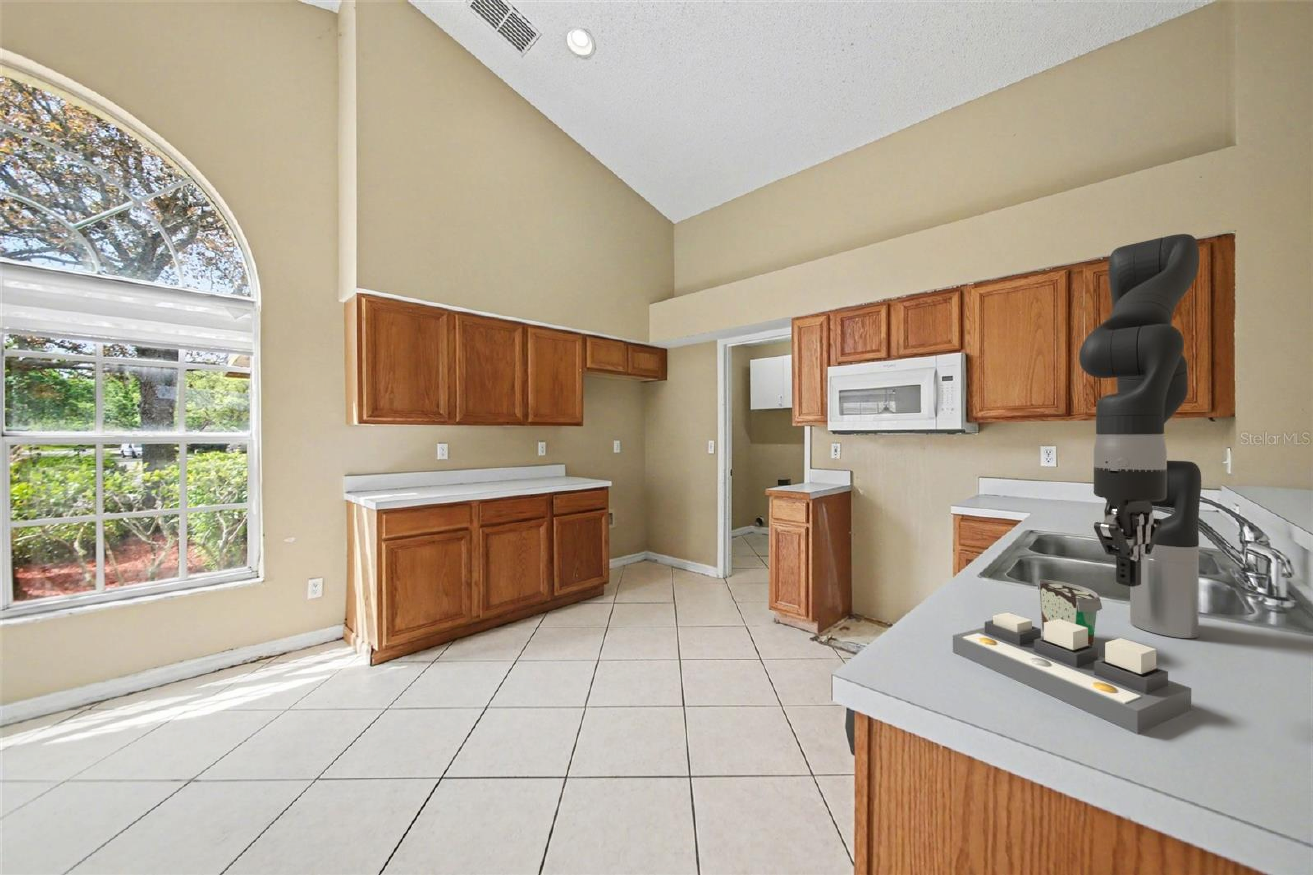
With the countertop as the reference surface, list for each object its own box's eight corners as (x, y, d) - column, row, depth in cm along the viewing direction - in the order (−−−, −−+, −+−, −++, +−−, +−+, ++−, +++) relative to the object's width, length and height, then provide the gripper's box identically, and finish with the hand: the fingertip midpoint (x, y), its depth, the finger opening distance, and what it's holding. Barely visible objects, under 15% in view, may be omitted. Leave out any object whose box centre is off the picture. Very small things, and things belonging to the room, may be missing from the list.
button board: (1003, 638, 90) (1003, 612, 90) (1191, 709, 67) (1191, 674, 67) (952, 652, 85) (952, 624, 85) (1137, 734, 62) (1137, 695, 61)
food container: (1120, 660, 81) (1121, 602, 81) (1079, 657, 82) (1079, 600, 82) (1073, 631, 93) (1073, 580, 93) (1037, 628, 94) (1037, 578, 94)
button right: (1120, 656, 72) (1120, 638, 72) (1156, 668, 68) (1156, 649, 68) (1105, 661, 70) (1105, 642, 70) (1141, 674, 66) (1141, 654, 66)
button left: (1007, 627, 86) (1007, 612, 86) (1031, 636, 83) (1031, 620, 83) (993, 631, 85) (993, 615, 85) (1017, 640, 81) (1017, 624, 81)
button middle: (1058, 635, 79) (1058, 618, 79) (1087, 645, 75) (1088, 628, 75) (1043, 639, 78) (1043, 622, 78) (1072, 650, 74) (1073, 632, 74)
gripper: (1121, 463, 75) (1121, 572, 75) (1070, 465, 70) (1070, 583, 70) (1188, 465, 68) (1188, 586, 68) (1137, 469, 63) (1137, 599, 63)
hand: (1128, 584), depth 69 cm, fingers closed
